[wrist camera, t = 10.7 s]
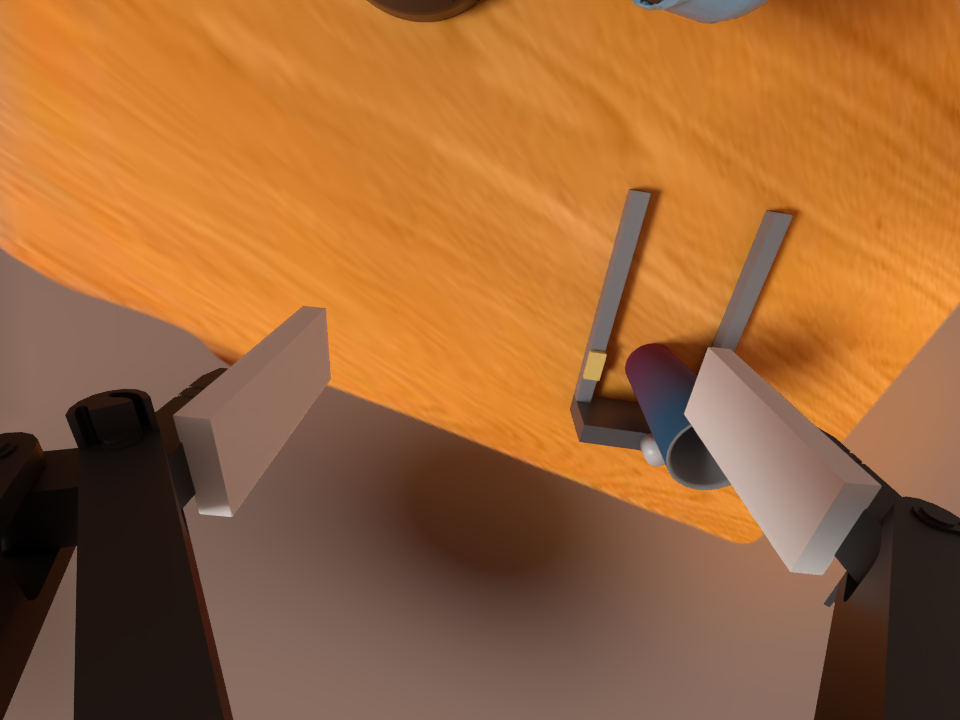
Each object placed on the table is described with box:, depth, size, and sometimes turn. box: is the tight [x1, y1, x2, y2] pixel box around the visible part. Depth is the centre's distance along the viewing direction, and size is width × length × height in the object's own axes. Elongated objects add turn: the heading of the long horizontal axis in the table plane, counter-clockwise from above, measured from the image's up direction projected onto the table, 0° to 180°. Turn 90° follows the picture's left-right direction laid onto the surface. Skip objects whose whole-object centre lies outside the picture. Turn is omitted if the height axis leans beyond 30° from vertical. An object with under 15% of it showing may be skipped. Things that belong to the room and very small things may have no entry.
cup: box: [625, 344, 731, 490], centre depth 39 cm, size 7×7×15 cm
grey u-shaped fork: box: [570, 190, 793, 466], centre depth 40 cm, size 23×14×8 cm, turn 172°
